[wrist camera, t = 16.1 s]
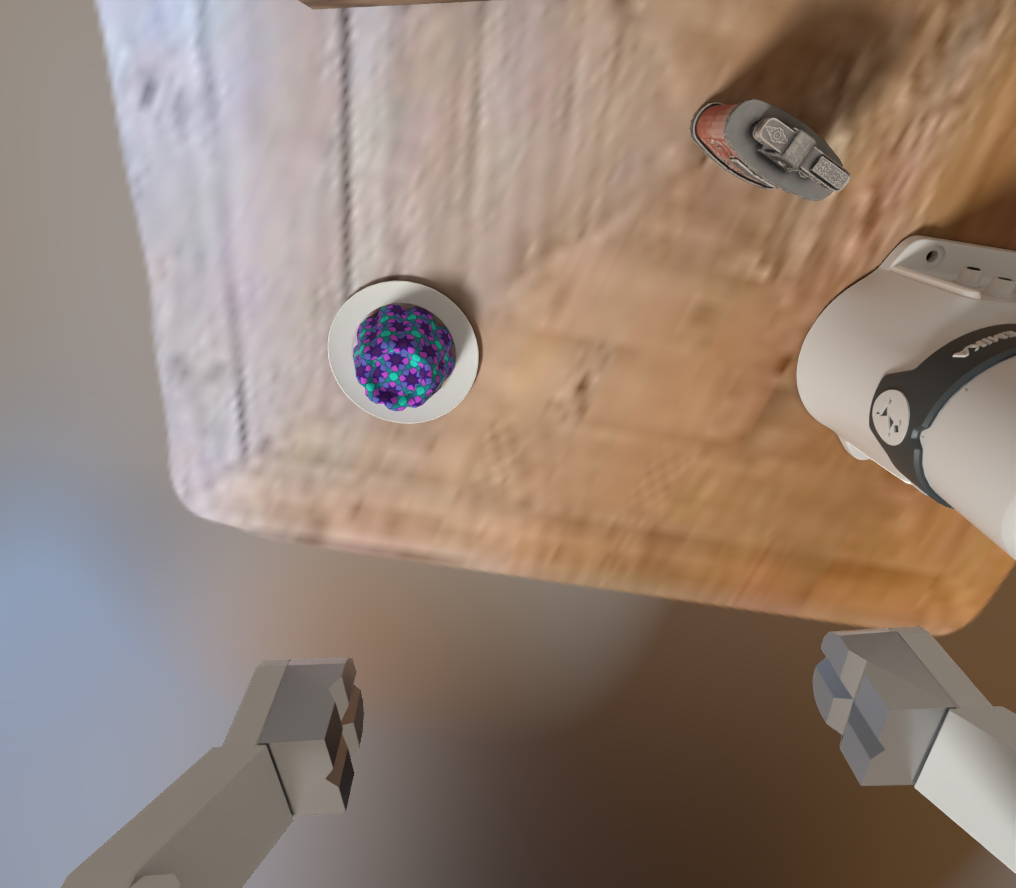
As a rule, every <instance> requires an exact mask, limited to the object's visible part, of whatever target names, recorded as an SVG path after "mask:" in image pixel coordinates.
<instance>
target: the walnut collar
mask: <svg viewBox="0 0 1016 888" xmlns="http://www.w3.org/2000/svg"><path fill="white" fill-rule="evenodd" d="M299 1H300V2H302V3H304V4H305V5H307V6H308V7H310V8H312V9H329V8H349V7H369V6H389V5H409V4H429V3H449V2H469V1H489V0H299Z"/></svg>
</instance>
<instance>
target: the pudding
mask: <svg viewBox="0 0 1016 888" xmlns="http://www.w3.org/2000/svg"><path fill="white" fill-rule="evenodd" d="M393 303H408V304H413V305H417V306H420V307H422V308H425V309H427V310H428V311H430V312H432V313H433V314H434V315H436V316H437V317H438V318H439V319H440V320H441V321H442V322H443V323H444V324H445V325H446V327H447V328H448V330H449V332H450V333H451V334H450V333H449V332H448V331H447V329H446V328H445V327H442V326H439V325H436V324H435V321H434V318H433V315H432V314H430V313H429V312H428V311H427V310H425V309H422V308H418V307H415V308H412V309H409V310H405V309H403V308H402V307H400V306H399V305H388V306H385V307H383V308H381V309H380V311H379V313H378V315H377V317H376V318H367V319H365V320H364V321H363V322H362V323H361V324H360V326H359V328H358V331H357V339H358V345H357V346H356V347H355V348H354V355H353V358H354V361H353V358H352V340H353V336H354V333H355V331H356V329H357V327H358V325H359V323H360V322H361V321H362V320H363V318H364V317H365V316H367V315H368V314H369V313H370V312H371V311H373V310H375V309H377V308H379V307H381V306H384V305H387V304H393ZM451 335H452V338H453V341H454V344H455V349H456V362H455V368H454V358H453V357H452V355H451V354H450V352H449V351H450V349H451V347H452V344H453V342H452V338H451ZM327 348H328V358H329V363H330V366H331V370H332V373H333V375H334V377H335V379H336V381H337V383H338V385H339V386H340V387H341V389H342V390H343V392H344V393H345V394H346V395H347V396H348V397H349V398H350V399H351V400H352V401H353V402H354V403H355V404H356V405H357V406H359V407H360V408H362V409H363V410H364V411H366V412H368V413H370V414H372V415H374V416H376V417H378V418H381V419H384V420H387V421H391V422H397V423H420V422H426V421H429V420H433V419H436V418H438V417H440V416H442V415H444V414H446V413H448V412H449V411H451V410H452V409H453V408H455V407H456V406H457V405H458V404H459V403H460V402H461V401H462V400H463V399H464V398H465V397H466V395H467V394H468V392H469V391H470V389H471V387H472V385H473V383H474V380H475V378H476V374H477V369H478V361H479V351H478V345H477V340H476V337H475V334H474V331H473V328H472V326H471V325H470V323H469V321H468V319H467V318H466V316H465V315H464V314H463V312H462V311H461V310H460V309H459V308H458V306H457V305H456V304H455V303H453V302H452V301H451V300H450V299H449V298H448V297H446V296H445V295H443V294H441V293H440V292H438V291H436V290H435V289H432V288H430V287H427V286H425V285H422V284H419V283H414V282H409V281H388V282H381V283H377V284H374V285H371V286H368V287H366V288H364V289H362V290H361V291H359V292H357V293H355V294H354V295H353V296H352V297H351V298H349V299H348V300H347V301H346V302H345V303H344V304H343V306H342V307H341V308H340V309H339V311H338V312H337V314H336V316H335V318H334V320H333V322H332V324H331V328H330V332H329V335H328V347H327ZM453 369H454V371H453ZM452 371H453V373H452ZM451 373H452V376H451V377H450V379H449V381H448V382H447V384H446V385H445V386H444V387H443V388H442V389H441V390H440V391H438V390H439V389H440V387H441V384H442V383H443V382H444V381H445V380H446V379H447V378H448V377H449V376H450V375H451ZM437 391H438V392H437ZM436 392H437V393H436ZM435 393H436V394H435Z"/></svg>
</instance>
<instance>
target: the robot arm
mask: <svg viewBox="0 0 1016 888" xmlns="http://www.w3.org/2000/svg"><path fill="white" fill-rule="evenodd" d="M931 251H932V255H931V257H930V258H929V259H928V260H926V256H927V254H928V253H929V252H931ZM797 386H798V391H799V394H800V397H801V400H802V402H803V404H804V406H805V407H806V409H807V410H808V412H809V413H810V414H811V415H812V416H813V417H814V418H815V419H816V420H817V421H819V422H820V423H821V424H823V425H825V426H826V427H828V428H830V429H831V430H833V431H834V432H835V433H836V434H837V435H838V436H839V439H840V441H841V442H842V444H843V446H844V448H845V449H846V451H847V452H848V453H849V454H851V455H852V456H854V457H855V458H857V459H859V460H867V459H872V460H873V461H875V462H876V463H877V464H879V465H880V466H882V467H883V468H885V469H886V470H888V471H889V472H891V473H892V474H893V475H895V476H896V477H898V478H899V479H901V480H902V481H904V482H906V483H908V484H911V485H913V486H914V487H915V488H917V489H918V490H919V491H921V492H922V493H923V494H925V495H927V496H929V497H931V498H932V499H934V500H935V501H937V502H938V503H940V504H942V505H944V506H946V507H949V508H953V509H955V510H956V511H958V512H959V513H960V514H961V515H962V516H964V517H965V518H966V519H967V520H968V521H969V522H971V523H972V524H973V525H974V526H975V527H977V528H978V529H979V530H980V531H981V532H983V533H984V534H985V535H986V536H987V537H988V538H990V539H991V540H992V541H993V542H994V543H996V544H997V545H998V546H999V547H1000V548H1001V549H1003V550H1004V551H1005V552H1006V553H1007V554H1009V555H1010V556H1011V557H1012V558H1013V559H1015V560H1016V251H1013V250H1007V249H1001V248H995V247H989V246H983V245H977V244H971V243H965V242H958V241H952V240H946V239H940V238H934V237H928V236H921V235H915V236H911V237H908V238H907V239H905V240H904V241H902V242H901V243H900V244H899V245H898V246H897V247H896V248H895V249H894V250H893V251H892V252H891V253H890V255H889V256H888V257H887V258H886V259H885V260H884V262H883V263H882V264H881V265H880V266H879V268H878V269H876V270H875V271H874V272H873V273H871V274H870V275H868V276H867V277H865V278H864V279H862V280H860V281H859V282H857V283H856V284H854V285H852V286H851V287H849V288H848V289H847V290H845V291H844V292H843V293H841V294H840V295H839V296H838V297H837V298H836V299H834V300H833V301H832V302H831V303H830V304H829V305H828V306H827V307H826V309H825V310H824V311H823V312H822V313H821V314H820V316H819V317H818V318H817V320H816V321H815V323H814V324H813V326H812V327H811V329H810V331H809V332H808V334H807V336H806V338H805V341H804V343H803V346H802V348H801V351H800V355H799V359H798V365H797ZM821 649H822V650H823V652H824V654H825V655H826V658H825V659H824V660H823V661H822V662H820V663H819V664H818V665H817V666H816V667H815V672H814V676H813V689H814V697H815V700H816V703H817V706H818V708H819V711H820V713H821V715H822V716H823V718H824V720H825V722H826V724H828V725H829V726H831V727H832V728H833V729H835V730H836V731H838V732H839V733H840V734H842V738H841V743H840V749H841V751H842V753H843V754H844V756H845V758H846V760H847V762H848V763H849V765H850V767H851V769H852V771H853V772H854V774H855V776H856V778H857V779H858V781H859V783H860V785H861V786H872V785H873V786H876V785H914V784H915V787H914V788H916V789H917V790H918V791H919V792H920V793H921V794H923V795H924V796H925V797H926V798H927V799H929V800H930V801H931V802H932V803H933V804H934V805H936V806H937V807H938V808H939V809H940V810H941V811H943V812H944V813H945V814H946V815H947V816H949V817H950V818H951V819H952V820H953V821H954V822H956V823H957V824H958V825H959V826H960V827H961V828H963V829H964V830H965V831H966V832H967V833H969V834H970V835H971V836H972V837H973V838H974V839H976V840H977V841H978V842H979V843H981V844H982V845H983V846H984V847H985V848H986V849H987V850H989V851H990V852H991V853H992V854H993V855H994V856H996V857H997V858H998V859H999V860H1000V861H1002V862H1003V863H1004V864H1005V865H1006V866H1007V867H1008V868H1010V869H1011V870H1012V871H1013V872H1014V873H1016V714H1015V713H1013V712H1011V711H1009V710H1008V709H1006V708H1004V707H993V706H992V705H991V704H990V703H989V702H988V701H987V699H986V698H985V697H984V696H983V695H982V694H981V692H980V691H979V690H978V689H977V688H976V687H975V686H974V684H973V683H972V682H971V681H970V680H969V678H968V677H966V675H965V674H964V673H963V672H962V670H961V669H960V668H959V667H958V666H957V664H956V663H955V662H954V661H953V660H952V659H951V658H950V657H949V655H948V654H947V653H946V652H945V651H944V649H943V648H942V647H941V646H940V645H939V644H938V642H937V641H936V640H935V639H934V638H933V637H932V635H931V634H930V633H929V632H928V631H927V630H925V629H923V628H921V627H920V626H918V627H901V628H888V629H886V628H879V629H865V630H849V631H833V632H829V633H828V634H827V635H826V636H825V637H824V639H823V643H822V646H821ZM355 676H356V668H355V665H354V661H353V659H352V658H349V657H348V658H309V659H287V660H263V661H262V662H261V663H260V664H259V665H258V666H257V668H256V669H255V672H254V674H253V676H252V678H251V681H250V683H249V686H248V688H247V690H246V692H245V695H244V697H243V699H242V702H241V704H240V706H239V709H238V711H237V713H236V716H235V718H234V720H233V722H232V725H231V727H230V729H229V732H228V734H227V736H226V739H225V741H224V743H223V746H222V747H215V748H214V747H213V748H212V749H211V750H210V751H208V752H207V753H206V754H205V755H204V756H203V757H202V758H201V759H199V760H198V761H197V762H196V763H195V764H194V765H193V766H191V767H190V768H189V769H188V770H187V771H186V772H185V773H184V774H182V775H181V776H180V777H179V778H178V779H177V780H176V781H175V782H173V783H172V784H171V785H170V786H169V787H168V788H167V789H166V790H164V791H163V792H162V793H161V794H160V795H159V796H158V797H156V798H155V799H154V800H153V801H152V802H151V803H150V804H149V805H147V806H146V807H145V808H144V809H143V810H142V811H141V812H139V813H138V814H137V815H136V816H135V817H134V818H133V819H132V820H131V821H129V822H128V823H127V824H126V825H125V826H124V827H123V828H121V829H120V830H119V831H118V832H117V833H116V834H115V835H113V836H112V837H111V838H110V839H109V840H108V841H107V842H106V843H104V845H102V846H101V847H100V848H99V849H98V850H97V851H95V852H94V853H93V854H92V855H91V856H90V857H89V858H88V859H86V860H85V861H84V862H83V863H82V864H81V865H80V866H78V868H76V869H75V870H74V871H73V872H72V873H71V874H70V875H68V876H67V878H66V880H65V881H64V883H63V885H62V887H61V888H242V887H243V885H244V884H245V883H246V882H247V880H248V879H249V878H250V876H251V875H252V874H253V872H254V871H255V870H256V869H257V867H258V866H259V865H260V863H261V862H262V861H263V859H264V858H265V857H266V856H267V854H268V853H269V852H270V850H271V849H272V848H273V846H274V845H275V844H276V843H277V841H278V840H279V839H280V837H281V836H282V835H283V833H284V832H285V831H286V830H287V828H288V827H289V826H290V824H291V823H292V822H293V817H299V816H311V815H324V814H335V813H346V810H347V805H348V800H349V796H350V791H351V787H352V782H353V777H354V769H353V765H352V761H351V757H352V755H353V754H354V753H355V752H356V751H357V750H358V749H359V748H360V743H361V738H362V733H363V720H364V707H363V698H362V693H361V690H360V689H359V688H357V687H356V686H355V685H354V681H355Z"/></svg>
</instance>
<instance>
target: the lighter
mask: <svg viewBox="0 0 1016 888" xmlns="http://www.w3.org/2000/svg"><path fill="white" fill-rule="evenodd" d="M690 135H691V137H692V139H693V141H694V142H695V143H696V144H697V145H698V146H699V147H700V148H701V149H702V150H703V152H704V153H705V154H706V155H707V156H708V157H709V158H711V159H712V160H713V161H714V162H715V163H717V164H718V165H719V166H720V167H721V168H723V169H724V170H725V171H727V172H729V173H731V174H732V175H734V176H736V177H738V178H739V179H741V180H743V181H745V182H748V183H750V184H753V185H756V186H758V187H761V188H764V189H769V190H773V189H781V190H783V191H786V192H788V193H791V194H793V195H796V196H798V197H801V198H803V199H807V200H811V201H818V200H822V199H824V198H826V197H827V196H829V195H830V194H831V193H832V192H833V191H834V192H839V191H841V190H842V189H843V188H844V187H845V186H846V184H847V183H848V181H849V180H850V173H849V172H848V171H847V170H846V169H844V168H843V165H842V163H841V161H840V159H839V158H838V156H837V155H836V154H835V153H834V152H833V150H832V149H831V148H830V147H829V145H828V144H827V143H826V142H825V141H824V140H823V139H822V138H821V137H820V136H819V135H818V134H817V133H815V132H814V131H813V130H812V129H811V128H810V127H809V126H808V125H807V124H805V123H804V122H802V121H800V120H799V119H797V118H796V117H794V116H792V115H791V114H789V113H787V112H786V111H784V110H782V109H780V108H777V107H775V106H773V105H770V104H768V103H765V102H763V101H761V100H755V99H750V100H746V101H742V102H740V103H739V104H731V105H725V104H723V103H719V102H711V103H707V104H705V105H703V106H702V107H700V108H699V109H698V110H697V112H696V113H695V114H694V116H693V118H692V120H691V124H690Z"/></svg>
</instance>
